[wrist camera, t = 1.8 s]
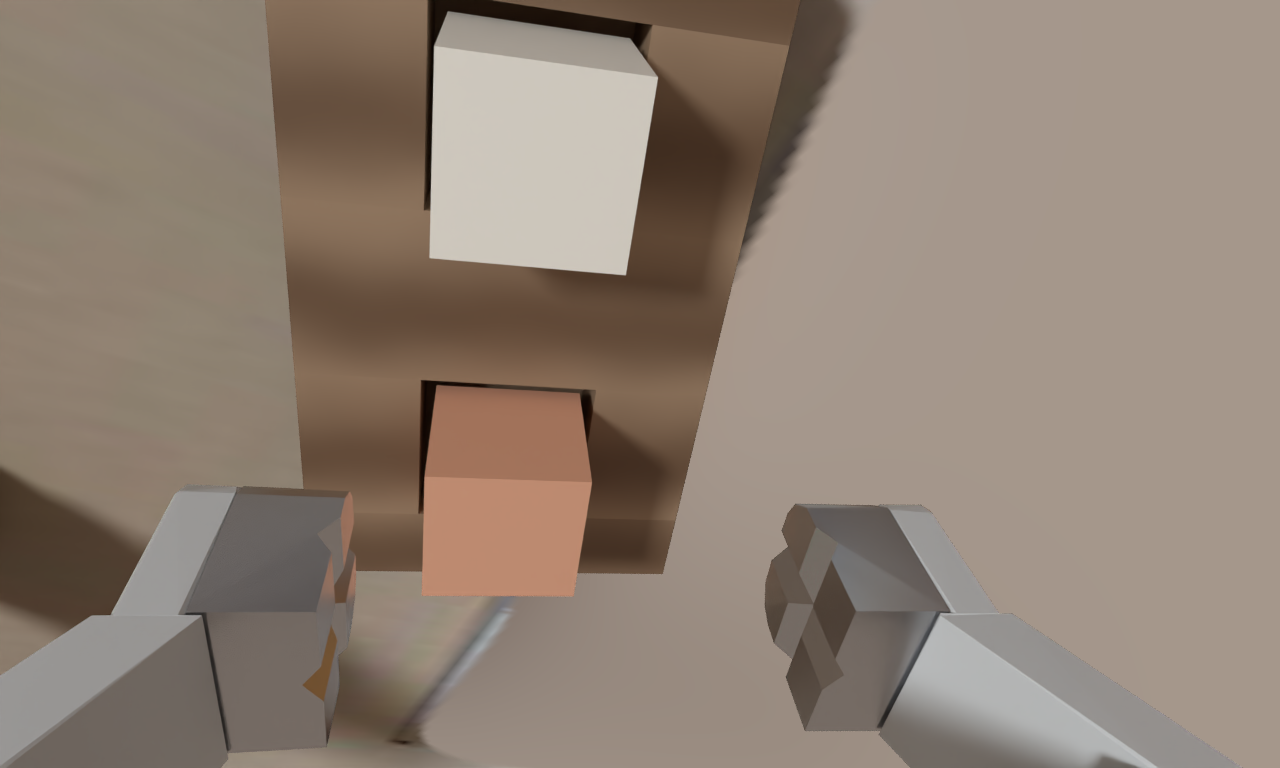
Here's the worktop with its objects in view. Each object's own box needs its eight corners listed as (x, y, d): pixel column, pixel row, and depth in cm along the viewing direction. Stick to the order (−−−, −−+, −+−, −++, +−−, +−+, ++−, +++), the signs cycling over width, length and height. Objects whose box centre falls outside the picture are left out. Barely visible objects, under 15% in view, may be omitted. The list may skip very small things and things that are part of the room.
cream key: (448, 11, 22) (433, 45, 17) (629, 38, 23) (657, 77, 18) (442, 190, 24) (429, 258, 20) (605, 207, 25) (625, 275, 21)
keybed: (289, -174, 22) (250, -181, 18) (776, -83, 25) (818, -74, 21) (329, 501, 34) (310, 570, 31) (648, 510, 37) (662, 573, 34)
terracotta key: (436, 385, 28) (424, 476, 24) (579, 393, 29) (591, 482, 25) (433, 495, 30) (421, 595, 26) (564, 499, 31) (573, 596, 27)
